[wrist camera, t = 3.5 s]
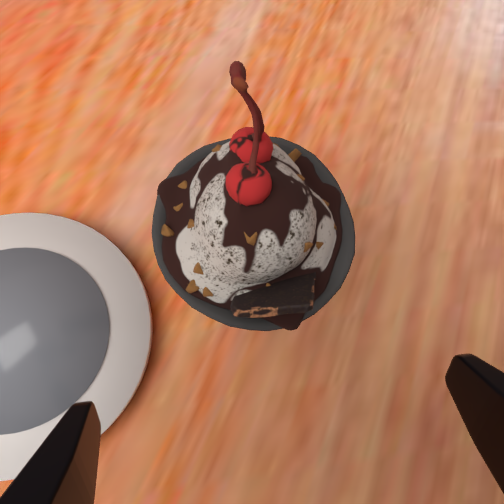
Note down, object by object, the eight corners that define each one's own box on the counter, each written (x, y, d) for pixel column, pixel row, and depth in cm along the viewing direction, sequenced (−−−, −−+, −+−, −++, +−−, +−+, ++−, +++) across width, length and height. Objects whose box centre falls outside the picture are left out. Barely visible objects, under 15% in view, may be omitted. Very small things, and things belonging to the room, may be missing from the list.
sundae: (208, 206, 23) (213, -40, 8) (306, 255, 23) (485, 97, 8) (153, 303, 21) (35, 208, 6) (259, 356, 21) (385, 384, 6)
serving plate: (190, 270, 21) (189, 265, 20) (83, 512, 18) (73, 526, 17) (-21, 185, 21) (-37, 175, 20) (-172, 416, 18) (-203, 422, 16)
